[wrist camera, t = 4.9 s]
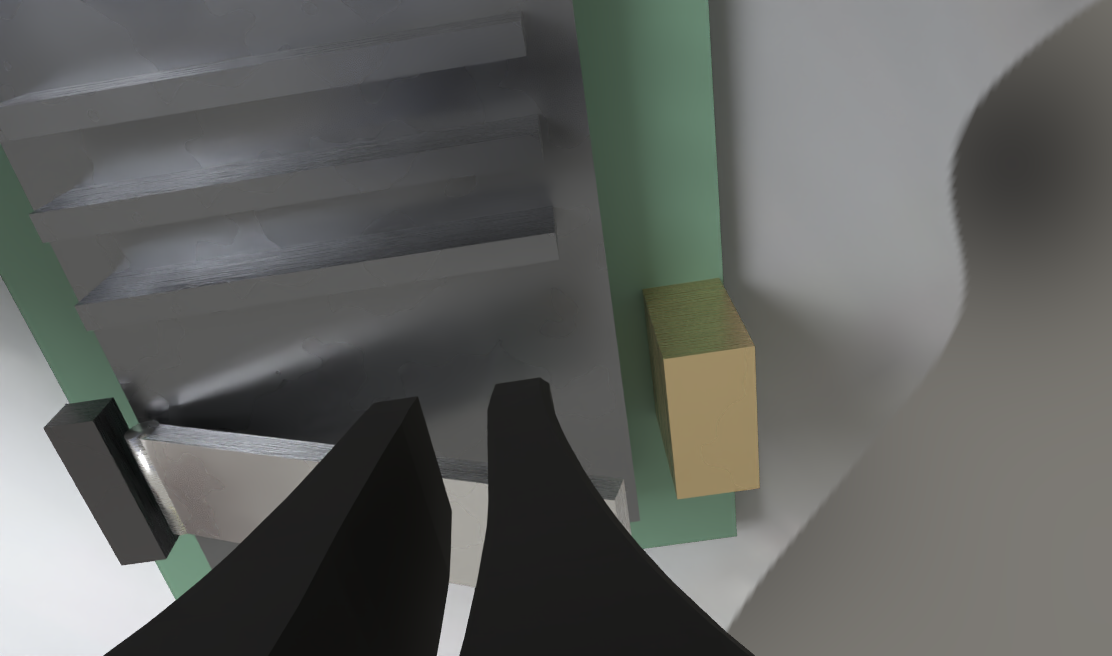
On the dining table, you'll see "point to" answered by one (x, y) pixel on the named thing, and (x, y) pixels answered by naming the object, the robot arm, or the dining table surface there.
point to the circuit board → (627, 223)
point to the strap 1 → (292, 485)
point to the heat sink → (342, 235)
